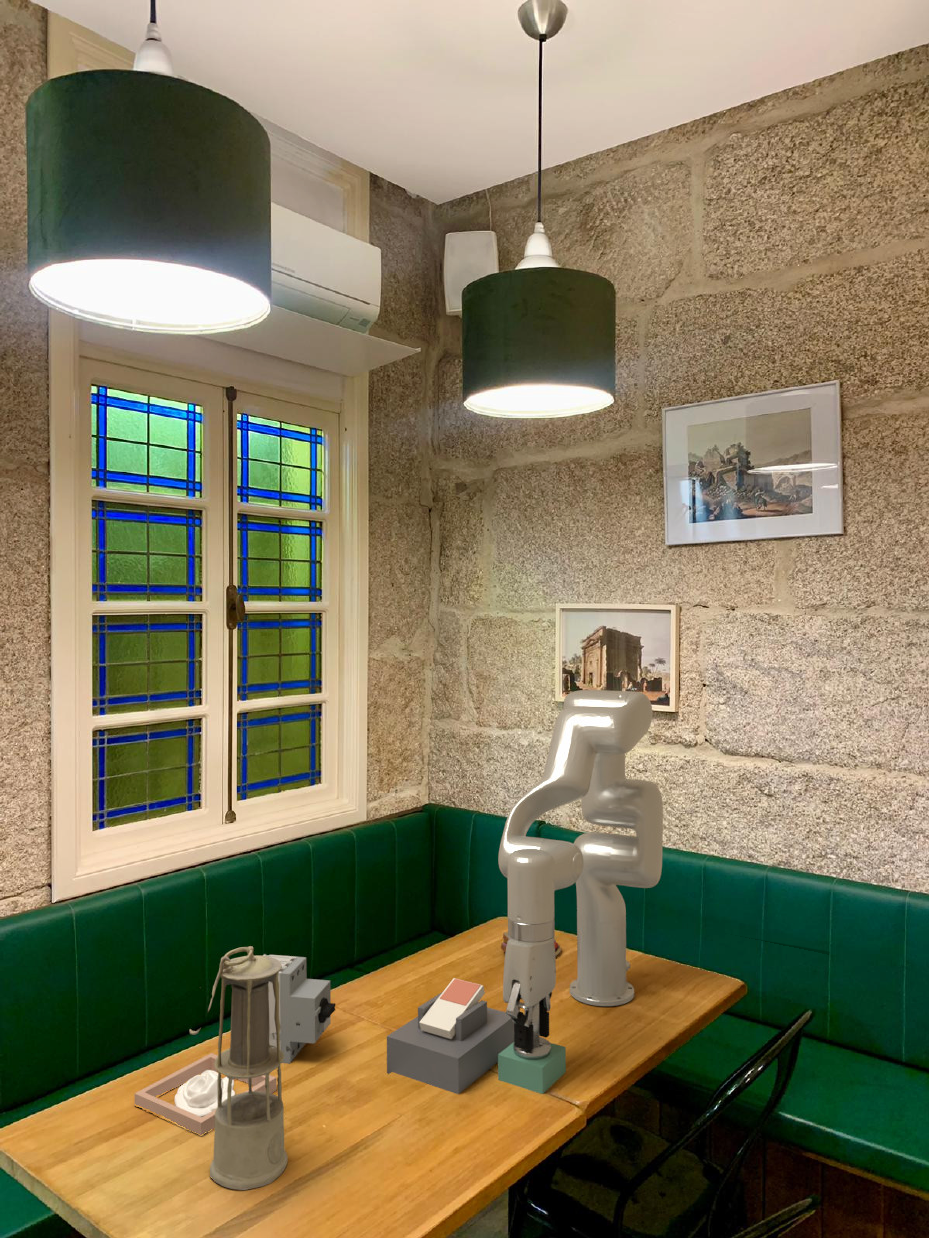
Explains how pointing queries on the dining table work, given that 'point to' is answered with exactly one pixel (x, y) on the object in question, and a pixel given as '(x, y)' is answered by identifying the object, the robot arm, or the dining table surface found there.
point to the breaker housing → (450, 1048)
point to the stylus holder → (532, 1069)
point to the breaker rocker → (451, 1007)
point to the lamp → (248, 1077)
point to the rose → (202, 1093)
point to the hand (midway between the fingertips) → (532, 1040)
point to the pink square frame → (169, 1111)
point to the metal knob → (535, 1040)
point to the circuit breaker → (298, 1007)
